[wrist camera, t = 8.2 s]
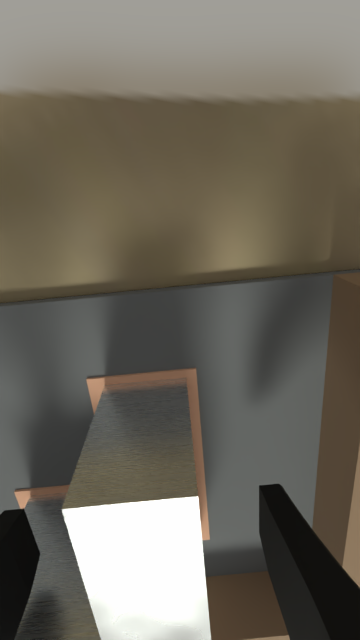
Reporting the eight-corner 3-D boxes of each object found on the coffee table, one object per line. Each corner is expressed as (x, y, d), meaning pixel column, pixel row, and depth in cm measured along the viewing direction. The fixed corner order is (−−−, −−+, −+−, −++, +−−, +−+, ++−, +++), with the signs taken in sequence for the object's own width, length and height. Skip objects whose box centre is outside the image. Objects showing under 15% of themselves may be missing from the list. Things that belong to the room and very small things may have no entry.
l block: (200, 529, 14) (215, 687, 10) (47, 544, 14) (-11, 708, 10) (186, 377, 12) (197, 496, 7) (-5, 394, 12) (-121, 526, 7)
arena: (-55, 607, 17) (-98, 687, 14) (-217, 324, 11) (-344, 364, 8) (327, 571, 17) (358, 644, 14) (362, 269, 11) (426, 291, 8)
